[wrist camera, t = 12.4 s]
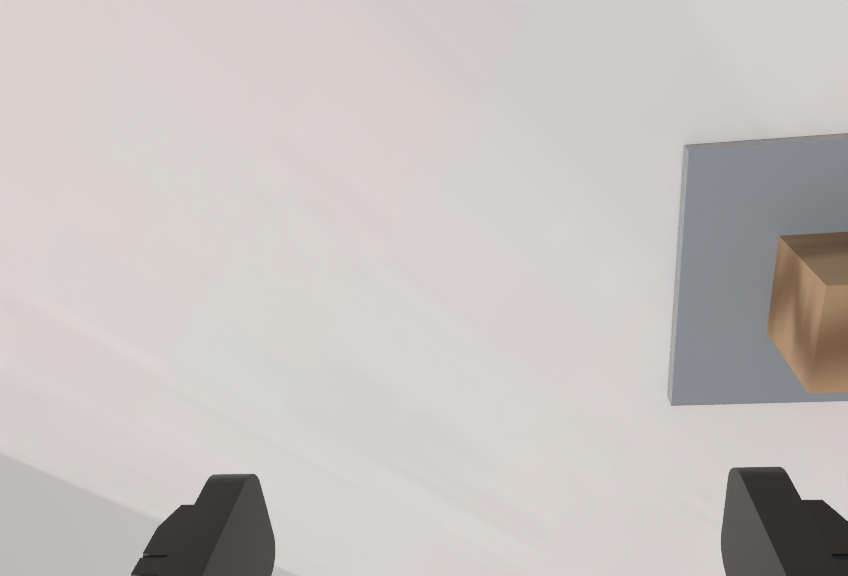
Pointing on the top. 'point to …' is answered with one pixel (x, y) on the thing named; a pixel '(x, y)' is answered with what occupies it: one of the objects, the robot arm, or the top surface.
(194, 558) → the robot arm
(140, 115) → the top surface
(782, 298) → the walnut block
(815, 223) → the slate plate
